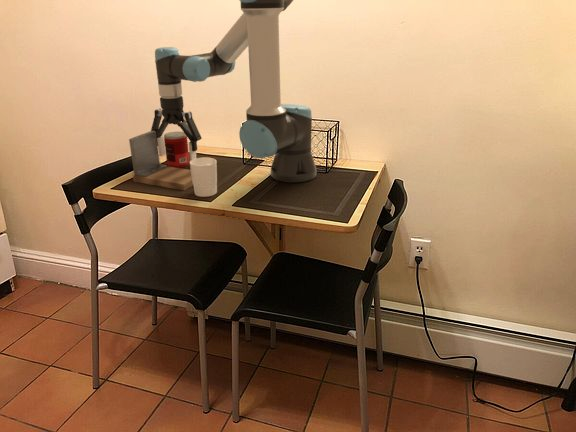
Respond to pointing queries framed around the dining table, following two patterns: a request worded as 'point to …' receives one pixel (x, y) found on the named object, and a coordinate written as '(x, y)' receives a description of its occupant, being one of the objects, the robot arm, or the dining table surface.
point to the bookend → (145, 154)
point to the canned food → (176, 149)
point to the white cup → (204, 176)
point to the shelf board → (168, 178)
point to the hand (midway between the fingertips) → (177, 157)
